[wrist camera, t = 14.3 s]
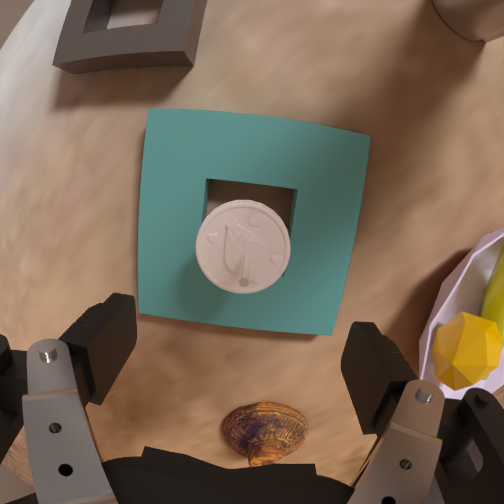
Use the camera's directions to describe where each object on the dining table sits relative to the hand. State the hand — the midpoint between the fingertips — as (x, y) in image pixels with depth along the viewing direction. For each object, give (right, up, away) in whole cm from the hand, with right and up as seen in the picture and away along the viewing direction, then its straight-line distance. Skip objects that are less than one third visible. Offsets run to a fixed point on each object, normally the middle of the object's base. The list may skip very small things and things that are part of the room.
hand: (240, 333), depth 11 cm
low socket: (0, +6, +19) cm, 20 cm away
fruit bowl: (+32, -4, +22) cm, 39 cm away
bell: (+2, -22, +27) cm, 35 cm away
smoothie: (0, +6, +19) cm, 20 cm away
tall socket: (-11, +28, +12) cm, 33 cm away
